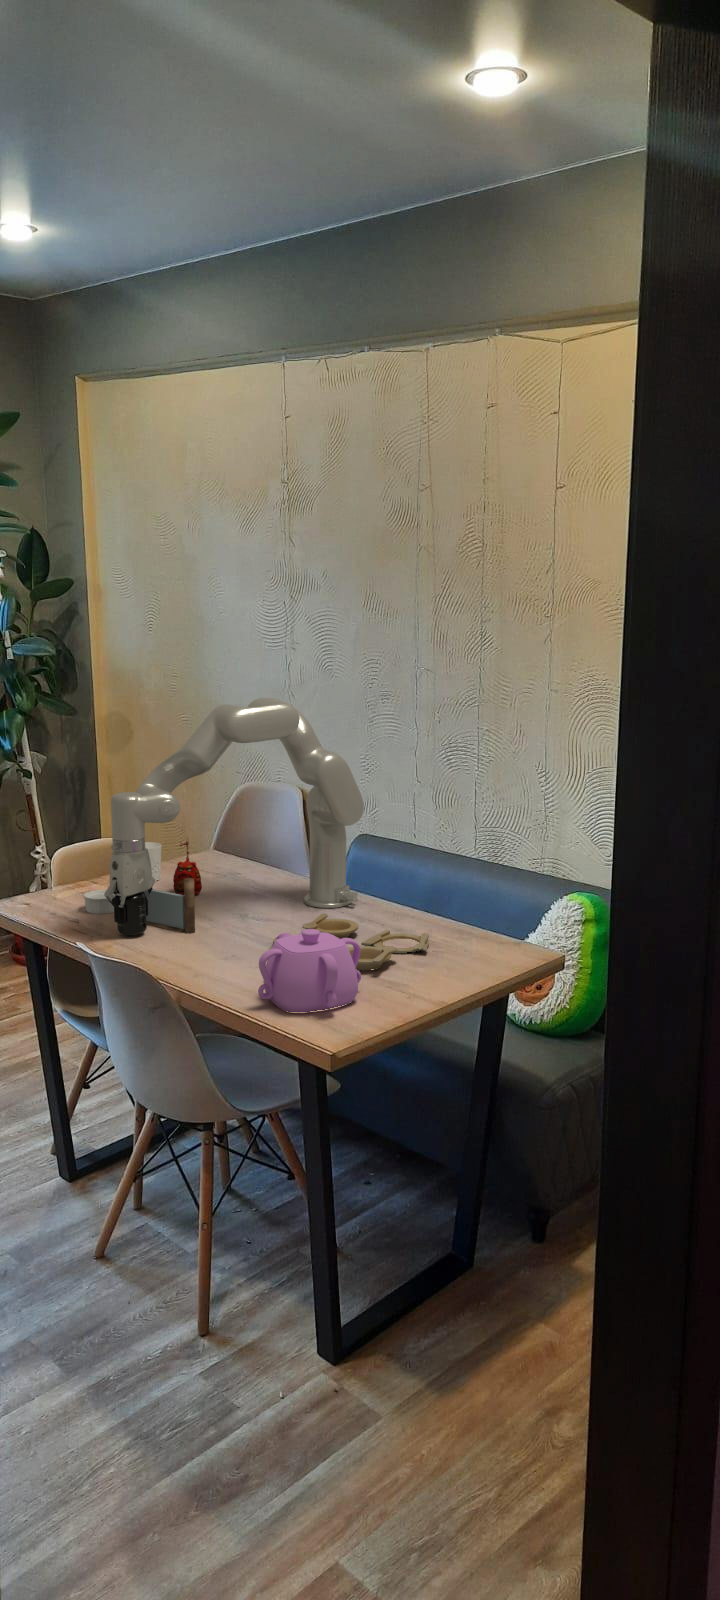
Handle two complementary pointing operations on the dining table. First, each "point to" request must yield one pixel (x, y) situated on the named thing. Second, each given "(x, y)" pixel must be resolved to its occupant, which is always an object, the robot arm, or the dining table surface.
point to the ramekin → (97, 902)
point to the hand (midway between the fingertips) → (131, 918)
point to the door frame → (189, 909)
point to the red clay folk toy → (186, 875)
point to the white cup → (154, 858)
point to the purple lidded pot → (310, 971)
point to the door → (166, 909)
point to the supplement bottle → (134, 915)
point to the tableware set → (367, 941)
